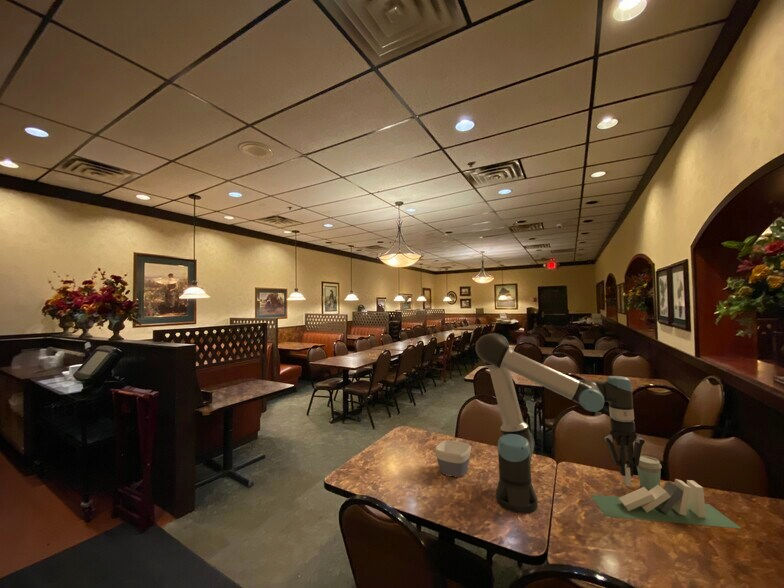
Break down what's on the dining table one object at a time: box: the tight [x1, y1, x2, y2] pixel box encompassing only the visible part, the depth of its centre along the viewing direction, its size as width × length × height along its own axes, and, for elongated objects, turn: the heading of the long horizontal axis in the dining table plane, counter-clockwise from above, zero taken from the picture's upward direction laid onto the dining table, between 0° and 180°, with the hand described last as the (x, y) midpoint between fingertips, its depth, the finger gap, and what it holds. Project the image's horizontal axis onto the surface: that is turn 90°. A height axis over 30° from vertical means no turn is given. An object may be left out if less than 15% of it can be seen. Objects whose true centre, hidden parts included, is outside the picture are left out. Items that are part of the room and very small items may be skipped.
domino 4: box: [686, 479, 706, 518], centre depth 113 cm, size 2×5×10 cm, turn 168°
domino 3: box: [672, 478, 691, 516], centre depth 114 cm, size 2×5×10 cm, turn 168°
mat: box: [589, 494, 742, 529], centre depth 115 cm, size 40×14×1 cm, turn 78°
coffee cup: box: [636, 455, 663, 491], centre depth 129 cm, size 8×8×12 cm
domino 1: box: [619, 487, 655, 511], centre depth 117 cm, size 2×5×10 cm
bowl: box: [434, 439, 472, 478], centre depth 149 cm, size 15×15×11 cm
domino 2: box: [641, 485, 671, 513], centre depth 116 cm, size 2×5×10 cm
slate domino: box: [657, 480, 683, 514], centre depth 115 cm, size 2×5×10 cm
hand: (627, 484), depth 118 cm, fingers closed
